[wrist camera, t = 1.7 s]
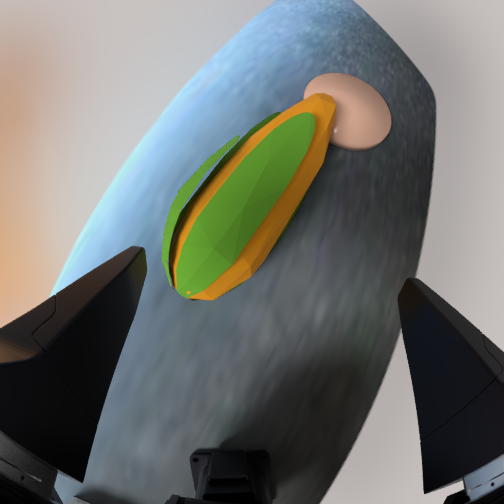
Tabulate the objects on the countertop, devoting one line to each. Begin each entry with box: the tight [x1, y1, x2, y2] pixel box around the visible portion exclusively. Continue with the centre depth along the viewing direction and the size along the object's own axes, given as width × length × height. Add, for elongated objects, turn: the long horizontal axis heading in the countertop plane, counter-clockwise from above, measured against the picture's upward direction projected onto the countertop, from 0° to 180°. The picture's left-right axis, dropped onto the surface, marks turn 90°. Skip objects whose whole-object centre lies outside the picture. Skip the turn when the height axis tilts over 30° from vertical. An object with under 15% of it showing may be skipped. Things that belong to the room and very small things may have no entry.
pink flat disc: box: [303, 73, 391, 151], centre depth 26 cm, size 9×9×1 cm
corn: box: [162, 93, 336, 301], centre depth 21 cm, size 7×8×20 cm
